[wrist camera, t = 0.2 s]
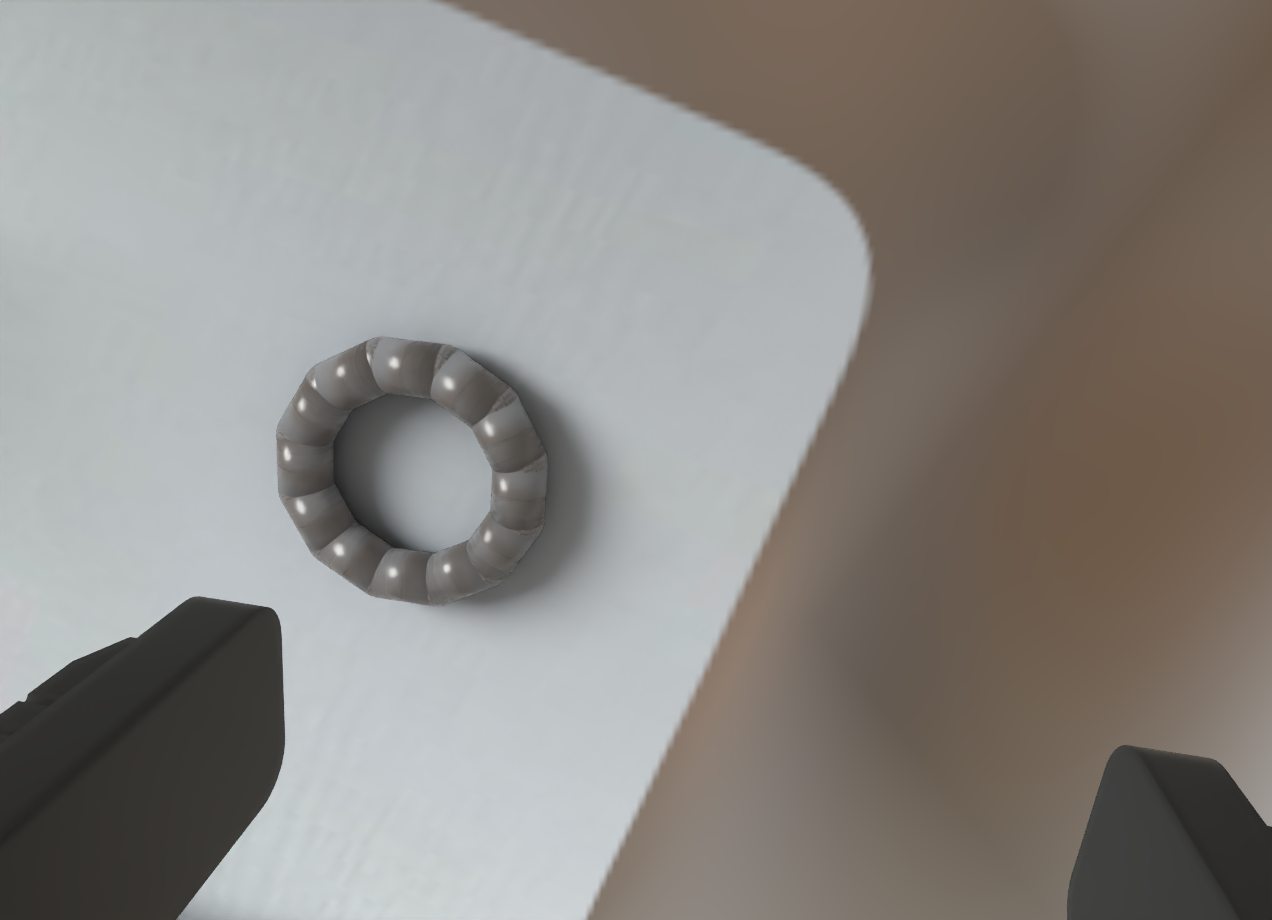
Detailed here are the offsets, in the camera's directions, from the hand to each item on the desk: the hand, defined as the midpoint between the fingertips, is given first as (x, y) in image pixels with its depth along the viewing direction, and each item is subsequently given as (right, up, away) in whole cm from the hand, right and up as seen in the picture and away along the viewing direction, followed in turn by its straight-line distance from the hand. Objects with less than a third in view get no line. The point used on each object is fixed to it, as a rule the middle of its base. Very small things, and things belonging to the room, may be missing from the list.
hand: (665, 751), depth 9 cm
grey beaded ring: (-6, +2, +15) cm, 17 cm away
